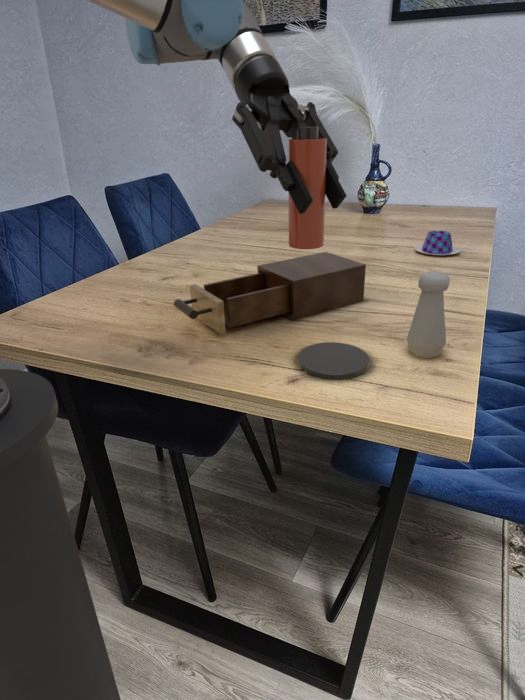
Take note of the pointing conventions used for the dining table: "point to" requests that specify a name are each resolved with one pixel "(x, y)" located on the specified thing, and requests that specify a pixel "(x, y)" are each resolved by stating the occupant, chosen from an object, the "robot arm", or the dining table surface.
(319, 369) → the coaster
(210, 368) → the dining table surface
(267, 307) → the drawer
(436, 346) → the salt shaker
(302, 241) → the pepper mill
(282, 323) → the dining table surface
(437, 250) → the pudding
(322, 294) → the cabinet
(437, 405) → the dining table surface
